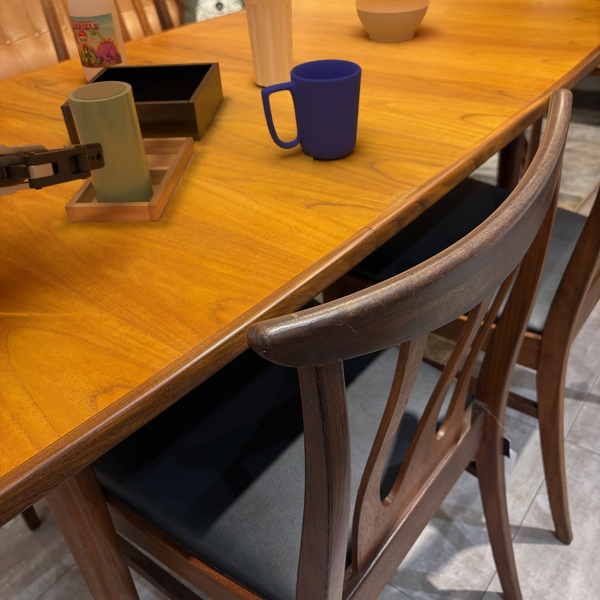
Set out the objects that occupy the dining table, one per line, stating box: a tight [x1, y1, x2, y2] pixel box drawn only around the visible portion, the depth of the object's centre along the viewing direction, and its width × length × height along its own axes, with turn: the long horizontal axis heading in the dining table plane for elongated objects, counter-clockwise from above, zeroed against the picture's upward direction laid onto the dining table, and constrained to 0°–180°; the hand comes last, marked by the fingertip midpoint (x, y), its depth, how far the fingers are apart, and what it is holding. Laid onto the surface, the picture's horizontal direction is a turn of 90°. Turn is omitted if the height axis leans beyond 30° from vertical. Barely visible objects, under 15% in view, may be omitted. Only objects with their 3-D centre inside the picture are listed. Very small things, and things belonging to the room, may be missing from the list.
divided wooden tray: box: [64, 137, 197, 223], centre depth 70 cm, size 10×18×2 cm, turn 176°
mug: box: [260, 58, 363, 160], centre depth 73 cm, size 8×12×10 cm
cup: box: [243, 0, 294, 88], centre depth 95 cm, size 8×8×14 cm
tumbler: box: [66, 81, 155, 203], centre depth 64 cm, size 6×6×12 cm
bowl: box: [355, 0, 430, 43], centre depth 117 cm, size 16×16×8 cm
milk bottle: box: [66, 0, 130, 82], centre depth 101 cm, size 8×8×20 cm
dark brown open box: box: [59, 61, 225, 146], centre depth 87 cm, size 18×18×6 cm
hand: (64, 155), depth 57 cm, fingers open, 8 cm apart
